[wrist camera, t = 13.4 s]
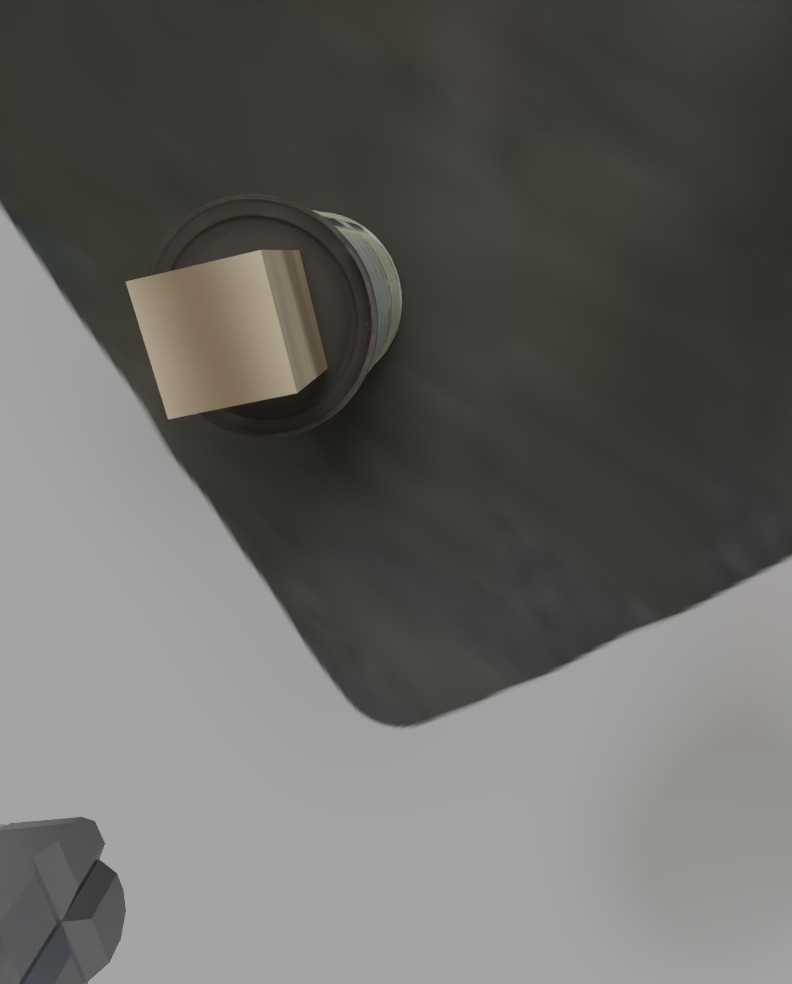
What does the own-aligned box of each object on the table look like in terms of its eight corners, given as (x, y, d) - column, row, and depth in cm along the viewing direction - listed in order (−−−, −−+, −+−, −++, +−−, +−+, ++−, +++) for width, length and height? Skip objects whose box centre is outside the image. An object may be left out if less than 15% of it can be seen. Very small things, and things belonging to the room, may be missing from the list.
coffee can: (287, 411, 48) (215, 473, 34) (208, 259, 45) (97, 263, 32) (432, 342, 45) (417, 380, 32) (358, 179, 43) (307, 146, 30)
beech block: (299, 250, 31) (260, 249, 25) (327, 368, 32) (297, 393, 27) (187, 276, 32) (125, 281, 26) (220, 390, 33) (168, 419, 27)
